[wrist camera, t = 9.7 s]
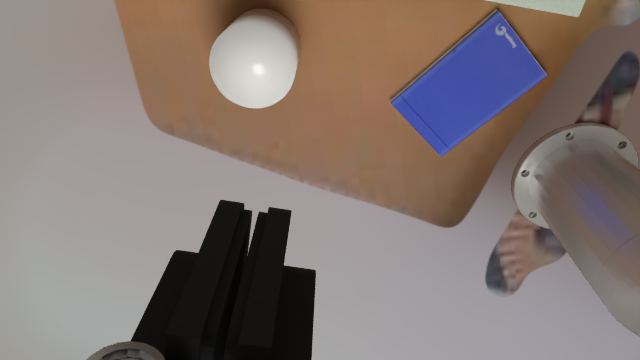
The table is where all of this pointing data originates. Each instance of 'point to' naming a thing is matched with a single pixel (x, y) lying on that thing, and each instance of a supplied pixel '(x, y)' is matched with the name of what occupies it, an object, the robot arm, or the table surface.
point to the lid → (549, 5)
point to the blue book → (469, 84)
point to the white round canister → (256, 58)
